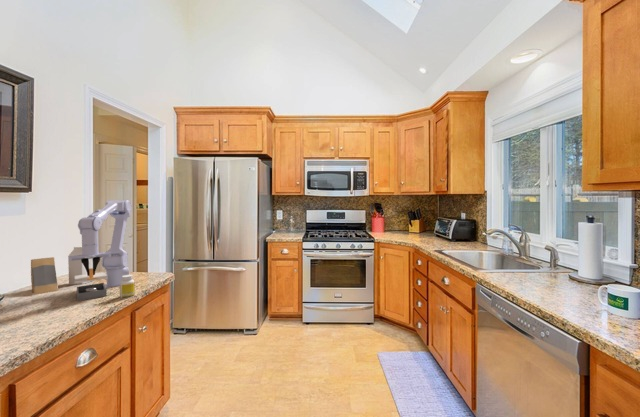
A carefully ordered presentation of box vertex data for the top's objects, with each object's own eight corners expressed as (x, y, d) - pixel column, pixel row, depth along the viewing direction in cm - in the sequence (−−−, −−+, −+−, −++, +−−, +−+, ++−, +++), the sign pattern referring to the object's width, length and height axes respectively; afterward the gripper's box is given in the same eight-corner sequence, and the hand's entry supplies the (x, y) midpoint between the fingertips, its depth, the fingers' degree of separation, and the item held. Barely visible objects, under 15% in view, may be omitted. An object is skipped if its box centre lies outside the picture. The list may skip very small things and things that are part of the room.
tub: (104, 289, 138) (103, 282, 138) (106, 297, 127) (106, 289, 127) (76, 294, 131) (76, 286, 131) (77, 302, 121) (77, 294, 121)
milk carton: (82, 284, 146) (81, 248, 146) (68, 284, 146) (67, 248, 146) (93, 281, 153) (92, 246, 153) (80, 281, 153) (79, 246, 153)
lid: (104, 274, 138) (104, 264, 138) (108, 279, 125) (107, 268, 125) (74, 278, 131) (74, 268, 131) (74, 284, 118) (74, 272, 118)
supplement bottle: (137, 296, 128) (137, 275, 128) (124, 300, 123) (124, 277, 123) (130, 294, 130) (129, 273, 130) (117, 298, 125) (116, 276, 125)
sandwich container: (33, 296, 129) (32, 263, 128) (31, 289, 139) (30, 259, 138) (59, 292, 135) (58, 260, 135) (55, 285, 145) (54, 256, 145)
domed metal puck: (96, 290, 135) (96, 286, 135) (96, 292, 132) (96, 288, 132) (85, 292, 132) (85, 288, 132) (85, 294, 129) (85, 290, 129)
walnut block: (97, 293, 130) (97, 289, 130) (97, 296, 127) (97, 291, 127) (85, 295, 127) (85, 291, 127) (86, 298, 124) (86, 293, 124)
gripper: (68, 247, 117) (69, 279, 118) (111, 243, 127) (112, 273, 127) (68, 245, 123) (69, 276, 123) (110, 242, 132) (110, 271, 133)
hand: (91, 274), depth 125 cm, fingers closed on lid
